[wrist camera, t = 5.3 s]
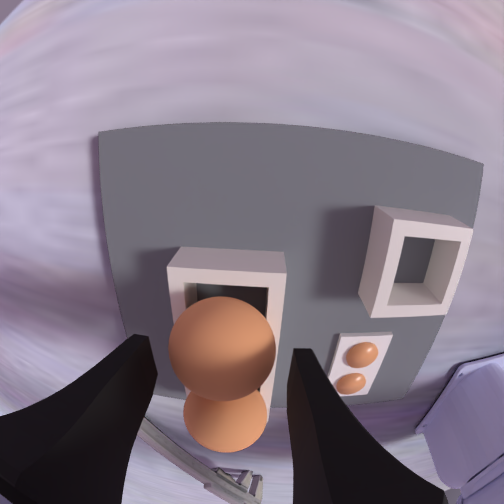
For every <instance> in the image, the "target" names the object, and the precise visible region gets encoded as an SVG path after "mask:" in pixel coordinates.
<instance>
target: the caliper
mask: <svg viewBox="0 0 504 504" xmlns="http://www.w3.org/2000/svg"><path fill="white" fill-rule="evenodd" d="M137 435H138V436H139V437H140V438H141V439H143V440H144V441H145V442H146V443H147V444H149V445H150V446H151V447H152V448H154V449H155V450H156V451H157V452H159V453H160V454H161V455H163V456H164V457H165V458H167V459H168V460H169V461H171V462H172V463H173V464H175V465H176V466H178V467H179V468H180V469H182V470H183V471H185V472H186V473H188V474H189V475H191V476H192V477H194V478H195V479H197V480H198V481H200V482H201V483H203V484H204V488H205V489H206V490H208V491H209V492H211V493H213V494H214V495H216V496H218V497H220V498H221V499H223V500H225V501H227V502H228V503H230V504H261V501H262V492H263V478H262V476H261V475H258V476H253V480H252V483H251V487H250V490H249V493H248V492H247V490H248V488H249V485H250V481H251V478H252V473H253V471H250V470H249V471H245V472H242V473H241V475H240V476H239V478H238V479H237V480H236V482H235V480H234V479H233V478H232V477H231V475H230V474H228V473H225V472H224V471H223V470H222V469H221V468H219V467H218V468H213V469H210V468H208V467H207V466H205V465H204V464H202V463H201V462H200V461H198V460H197V459H195V458H194V457H193V456H191V455H190V454H189V453H187V452H186V451H185V450H183V449H182V448H181V447H179V446H178V445H177V444H176V443H174V442H173V441H172V440H171V439H169V438H168V437H167V436H166V435H165V434H163V433H162V432H161V431H160V430H159V429H158V428H156V427H155V426H154V425H153V424H152V423H151V422H150V421H148V420H147V419H146V418H145V417H144V418H143V421H142V423H141V426H140V428H139V431H138V433H137Z"/></svg>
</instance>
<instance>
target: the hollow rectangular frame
mask: <svg viewBox="0 0 504 504" xmlns="http://www.w3.org/2000/svg"><path fill="white" fill-rule="evenodd" d="M167 275H168V284H169V293H170V301H171V308H172V315H173V322H174V324H175V322H176V320H177V319H178V317H179V316H180V315H181V314H182V313H183V312H184V311H185V310H186V309H187V308H188V307H190V306H191V305H193V304H194V303H196V302H198V301H197V286H196V283H203V284H218V285H234V286H251V287H267V294H266V308H265V319H266V320H267V322H268V323H269V325H270V327H271V329H272V331H273V334H274V337H275V344H276V357H275V362H274V365H273V368H272V371H271V373H270V375H269V376H268V378H267V379H266V381H265V382H264V383H263V384H262V385H261V386H260V387H259V390H258V391H259V393H260V394H261V395H262V397H263V399H264V401H265V404H266V408H267V422H268V418H269V411H270V405H271V398H272V391H273V384H274V377H275V370H276V362H277V354H278V347H279V339H280V330H281V322H282V313H283V305H284V295H285V286H286V276H287V272H286V264H285V257H284V252H279V251H259V250H239V249H220V248H200V247H180V249H179V250H178V251H177V253H176V254H175V256H174V257H173V258H172V260H171V261H170V263H169V264H168V265H167ZM185 391H186V396H188V395H189V393H190V392H191V391H190V390H189V389H188V388H186V387H185Z"/></svg>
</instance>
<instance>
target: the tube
mask: <svg viewBox="0 0 504 504" xmlns="http://www.w3.org/2000/svg"><path fill="white" fill-rule="evenodd" d="M473 230H474V229H472V228H471V227H469V226H467V225H466V224H464V223H462V222H460V221H459V220H457V219H455V218H453V217H452V216H450V215H444V214H437V213H430V212H423V211H416V210H409V209H401V208H393V207H384V206H376V205H375V207H374V214H373V220H372V226H371V232H370V238H369V243H368V249H367V254H366V259H365V264H364V268H363V273H362V278H361V282H360V286H359V291H358V294H359V296H360V298H361V300H362V302H363V304H364V306H365V308H366V310H367V312H368V314H369V316H370V318H387V317H415V316H433V315H446V314H447V312H448V309H449V307H450V304H451V302H452V299H453V296H454V294H455V291H456V288H457V285H458V282H459V279H460V276H461V273H462V270H463V267H464V263H465V260H466V257H467V253H468V249H469V246H470V242H471V238H472V234H473ZM405 236H408V237H419V238H430V239H435V242H434V246H433V250H432V254H431V258H430V261H429V265H428V268H427V272H426V275H425V279H424V282H423V283H394V279H395V275H396V271H397V267H398V263H399V259H400V255H401V251H402V246H403V242H404V237H405Z"/></svg>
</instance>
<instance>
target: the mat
mask: <svg viewBox="0 0 504 504" xmlns="http://www.w3.org/2000/svg"><path fill="white" fill-rule="evenodd" d="M483 166H484V164H483V163H480V162H477V161H474V160H471V159H468V158H464V157H461V156H458V155H455V154H451V153H448V152H444V151H441V150H437V149H433V148H429V147H425V146H421V145H417V144H413V143H409V142H404V141H400V140H395V139H390V138H385V137H380V136H374V135H369V134H363V133H356V132H350V131H343V130H335V129H327V128H319V127H309V126H298V125H285V124H269V123H238V122H212V123H182V124H165V125H153V126H142V127H133V128H124V129H116V130H109V131H102V132H99V169H100V184H101V197H102V207H103V216H104V224H105V232H106V239H107V246H108V252H109V258H110V264H111V269H112V275H113V280H114V285H115V290H116V294H117V299H118V303H119V307H120V312H121V316H122V320H123V324H124V327H125V331H126V335H127V338H129V337H130V336H132V335H133V334H139V335H145V336H149V340H150V344H151V348H152V353H153V357H154V361H155V364H156V368H157V372H158V376H157V380H156V384H155V388H154V392H153V394H154V395H160V396H165V397H171V398H177V399H183V400H186V399H187V396H186V391H185V386H184V385H183V384H182V382H181V381H180V380H179V379H178V377H177V376H176V374H175V372H174V370H173V368H172V366H171V362H170V359H169V351H168V345H169V337H170V333H171V330H172V328H173V326H174V322H173V315H172V308H171V301H170V293H169V284H168V275H167V265H168V264H169V263H170V261H171V260H172V258H173V257H174V256H175V254H176V253H177V251H178V250H179V249H180V247H200V248H220V249H239V250H259V251H279V252H284V257H285V264H286V272H287V276H286V286H285V295H284V305H283V313H282V322H281V330H280V339H279V347H278V354H277V362H276V370H275V377H274V384H273V391H272V398H271V405H270V407H282V408H287V381H288V376H289V371H290V365H291V360H292V354H293V348H311V349H312V350H313V351H314V353H315V355H316V357H317V359H318V361H319V363H320V365H321V366H322V368H323V370H324V372H325V373H326V375H327V376H328V373H329V370H330V367H331V363H332V360H333V357H334V353H335V350H336V346H337V343H338V339H339V335H340V333H370V332H392V334H393V337H392V339H391V342H390V344H389V347H388V349H387V352H386V354H385V356H384V359H383V361H382V363H381V366H380V368H379V370H378V372H377V375H376V377H375V379H374V381H373V383H372V385H371V387H370V390H369V392H368V394H365V395H354V396H340V397H341V399H342V400H343V401H344V403H345V404H346V405H358V404H368V403H376V402H384V401H391V400H398V399H403V398H404V396H405V394H406V393H407V391H408V389H409V388H410V386H411V384H412V382H413V381H414V379H415V377H416V375H417V374H418V372H419V370H420V368H421V366H422V364H423V362H424V360H425V358H426V356H427V354H428V352H429V350H430V348H431V346H432V344H433V342H434V340H435V338H436V335H437V333H438V331H439V329H440V326H441V324H442V322H443V319H444V317H445V315H433V316H415V317H387V318H370V316H369V314H368V312H367V310H366V308H365V306H364V304H363V302H362V300H361V298H360V296H359V294H358V291H359V286H360V282H361V278H362V273H363V268H364V264H365V259H366V254H367V249H368V243H369V238H370V232H371V226H372V220H373V214H374V207H375V205H376V206H384V207H393V208H401V209H409V210H416V211H423V212H430V213H437V214H444V215H450V216H452V217H453V218H455V219H457V220H459V221H460V222H462V223H464V224H466V225H467V226H469V227H471V228H472V229H473V226H474V221H475V216H476V211H477V206H478V201H479V195H480V189H481V182H482V175H483ZM434 242H435V239H430V238H419V237H408V236H405V237H404V242H403V246H402V251H401V255H400V259H399V263H398V267H397V271H396V275H395V279H394V283H423V282H424V279H425V275H426V272H427V268H428V265H429V261H430V258H431V254H432V250H433V246H434ZM196 286H197V301H201V300H204V299H207V298H211V297H218V296H221V297H232V298H236V299H239V300H242V301H244V302H246V303H248V304H250V305H252V306H253V307H254V308H256V309H257V310H258V311H259V312H260V313H261V314H262V315H263V316H264V317H265V308H266V294H267V287H251V286H234V285H218V284H203V283H196ZM257 390H259V388H258V389H257Z"/></svg>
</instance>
